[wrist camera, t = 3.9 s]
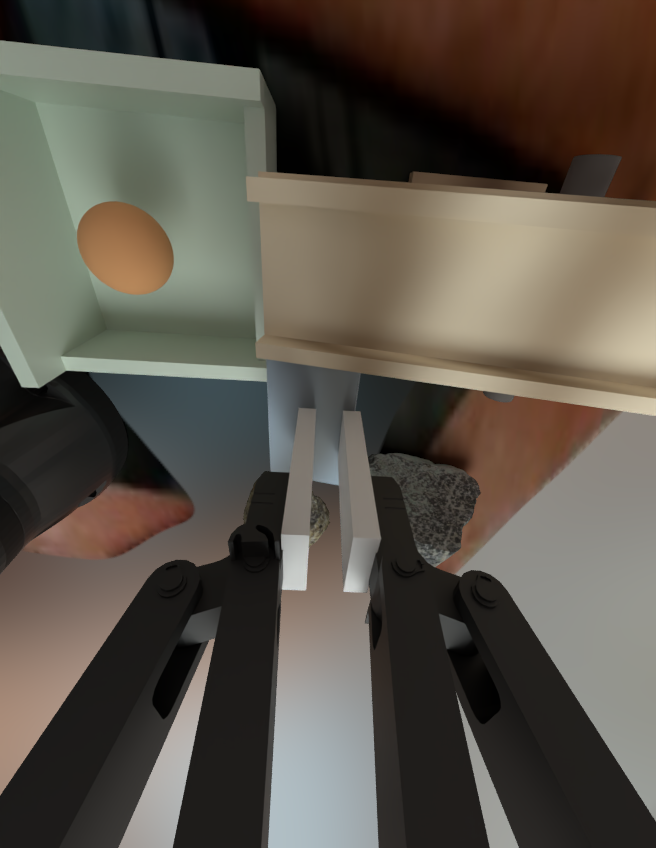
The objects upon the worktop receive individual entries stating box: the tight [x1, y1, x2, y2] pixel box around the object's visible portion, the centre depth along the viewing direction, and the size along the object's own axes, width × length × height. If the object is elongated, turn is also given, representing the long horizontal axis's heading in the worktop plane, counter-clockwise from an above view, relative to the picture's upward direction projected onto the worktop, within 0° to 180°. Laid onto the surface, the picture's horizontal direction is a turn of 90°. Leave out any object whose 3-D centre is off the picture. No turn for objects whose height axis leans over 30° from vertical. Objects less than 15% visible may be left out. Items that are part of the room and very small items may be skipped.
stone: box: [368, 453, 481, 567], centre depth 26 cm, size 10×10×10 cm
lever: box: [246, 154, 656, 485], centre depth 12 cm, size 20×14×4 cm
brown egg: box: [77, 201, 174, 295], centre depth 14 cm, size 4×4×4 cm
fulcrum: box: [408, 172, 548, 193], centre depth 16 cm, size 14×8×8 cm, turn 86°
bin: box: [0, 41, 277, 388], centre depth 15 cm, size 12×12×7 cm
